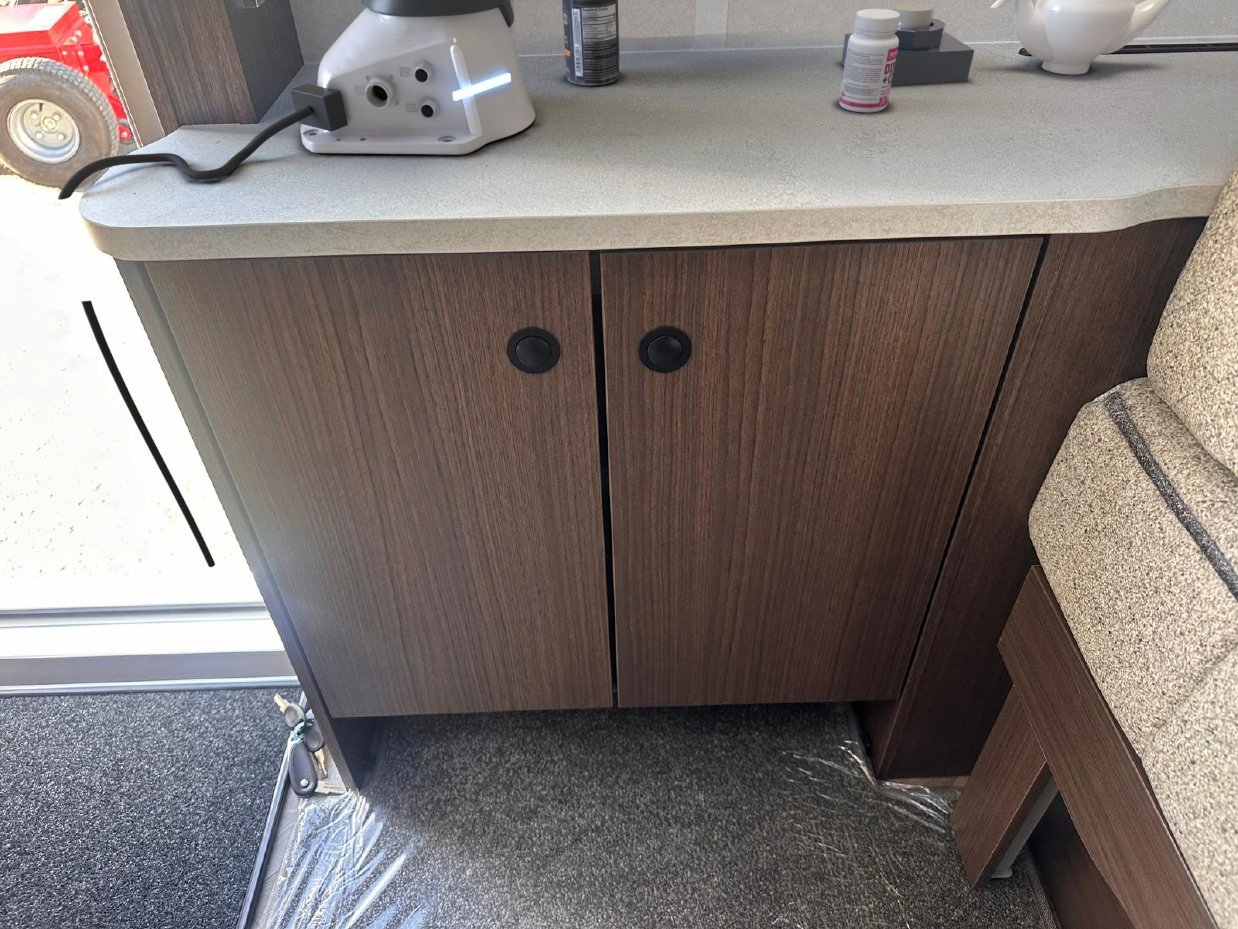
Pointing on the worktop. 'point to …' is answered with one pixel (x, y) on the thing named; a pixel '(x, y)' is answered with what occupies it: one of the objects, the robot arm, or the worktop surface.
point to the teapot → (1079, 29)
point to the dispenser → (927, 56)
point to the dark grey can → (591, 41)
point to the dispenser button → (914, 14)
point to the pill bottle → (870, 61)
